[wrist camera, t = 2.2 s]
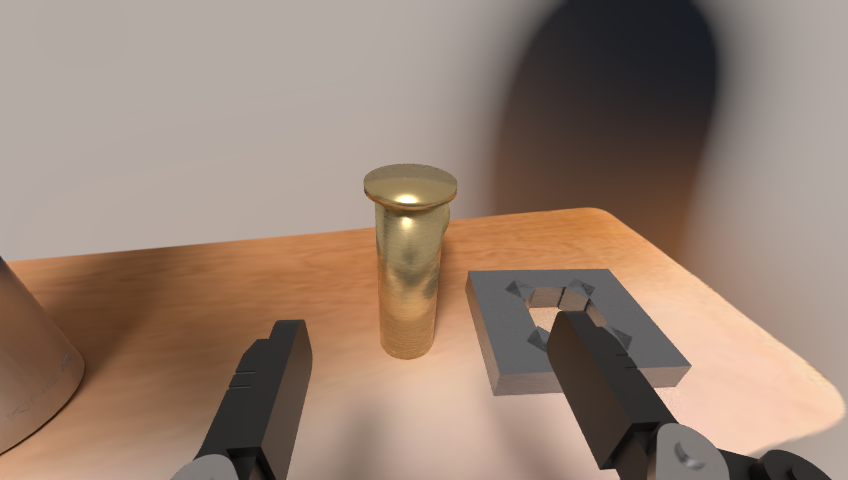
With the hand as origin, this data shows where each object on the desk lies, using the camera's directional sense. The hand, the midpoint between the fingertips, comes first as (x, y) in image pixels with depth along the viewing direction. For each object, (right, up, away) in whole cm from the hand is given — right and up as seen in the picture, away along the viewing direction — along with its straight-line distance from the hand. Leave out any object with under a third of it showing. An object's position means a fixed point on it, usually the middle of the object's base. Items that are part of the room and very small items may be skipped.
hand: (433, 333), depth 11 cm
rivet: (-2, -5, +17) cm, 18 cm away
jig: (+11, -5, +18) cm, 22 cm away
